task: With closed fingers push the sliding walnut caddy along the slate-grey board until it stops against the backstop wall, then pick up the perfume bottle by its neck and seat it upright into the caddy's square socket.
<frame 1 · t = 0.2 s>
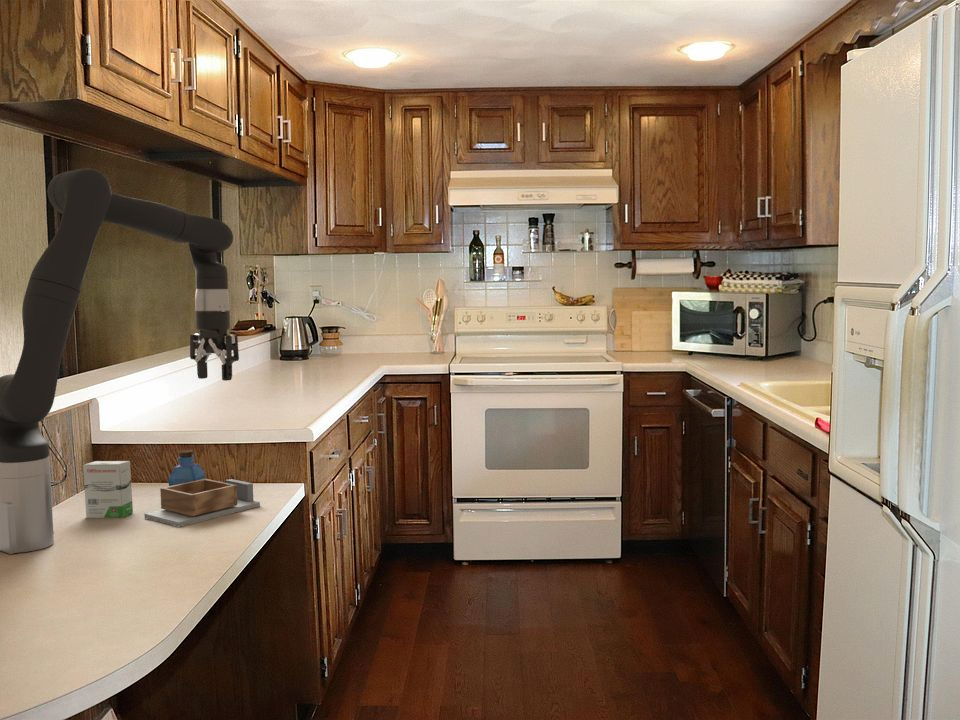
hand: (214, 379, 200), 28 cm above the worktop, fingers open, 8 cm apart
perfume bottle: (187, 503, 201), on the worktop
ink box: (109, 516, 190), on the worktop
backstop board: (203, 512, 192), on the worktop
caddy: (199, 496, 191), point 4 cm above the worktop, slide at 0.0 cm
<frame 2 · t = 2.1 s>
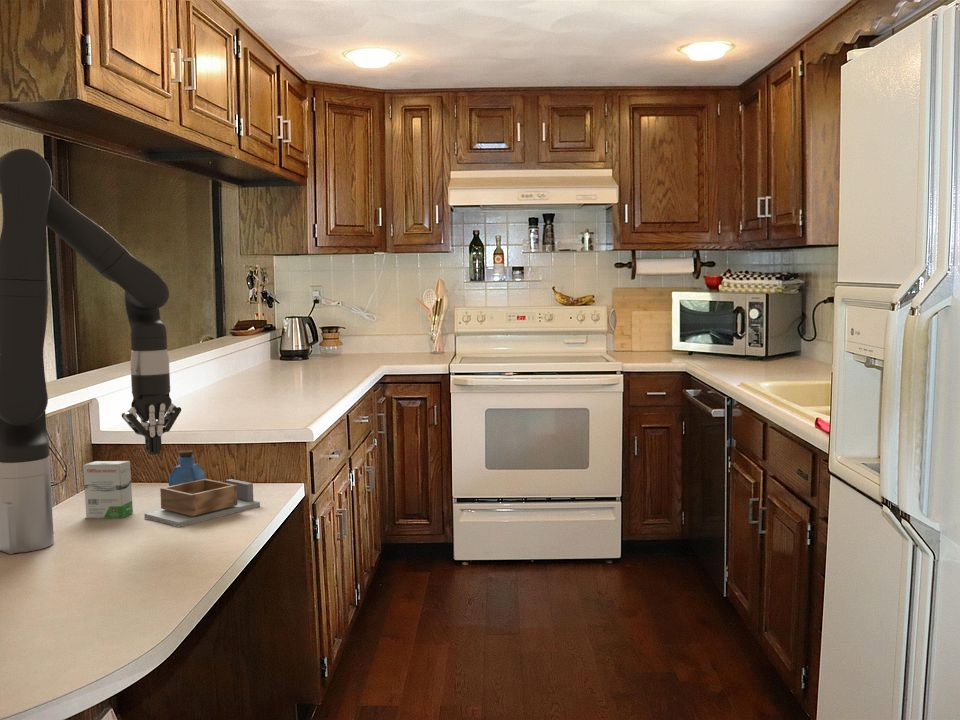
hand: (154, 453, 182), 15 cm above the worktop, fingers closed
nothing on the worktop moved.
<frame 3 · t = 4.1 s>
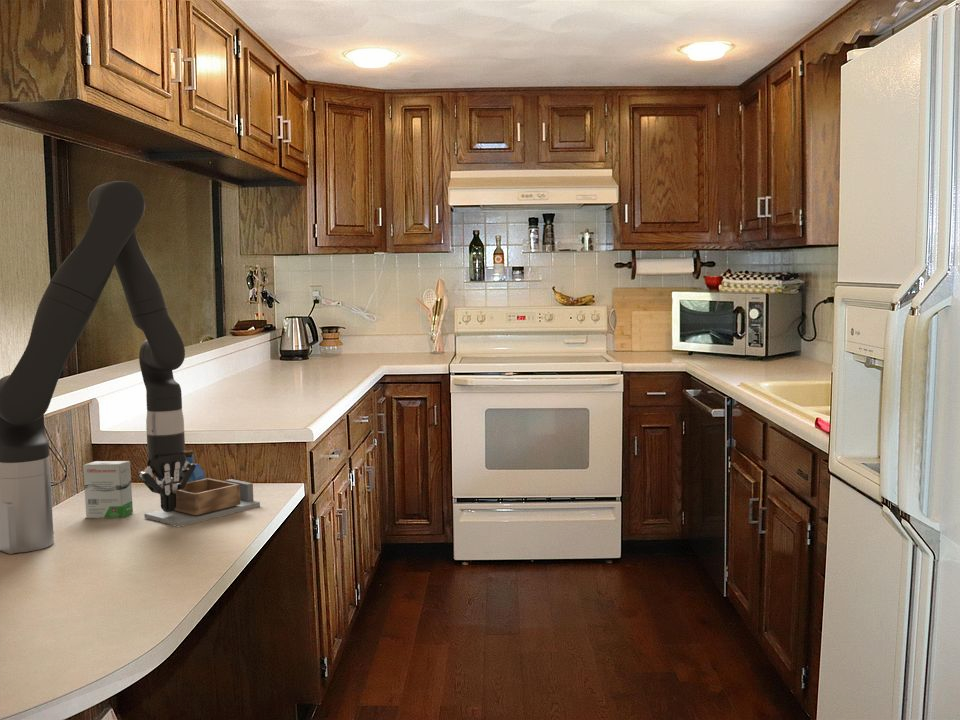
hand: (169, 511, 185), 2 cm above the worktop, fingers closed
caddy: (202, 495, 191), point 4 cm above the worktop, slide at 0.8 cm, touching gripper
everything else where it was.
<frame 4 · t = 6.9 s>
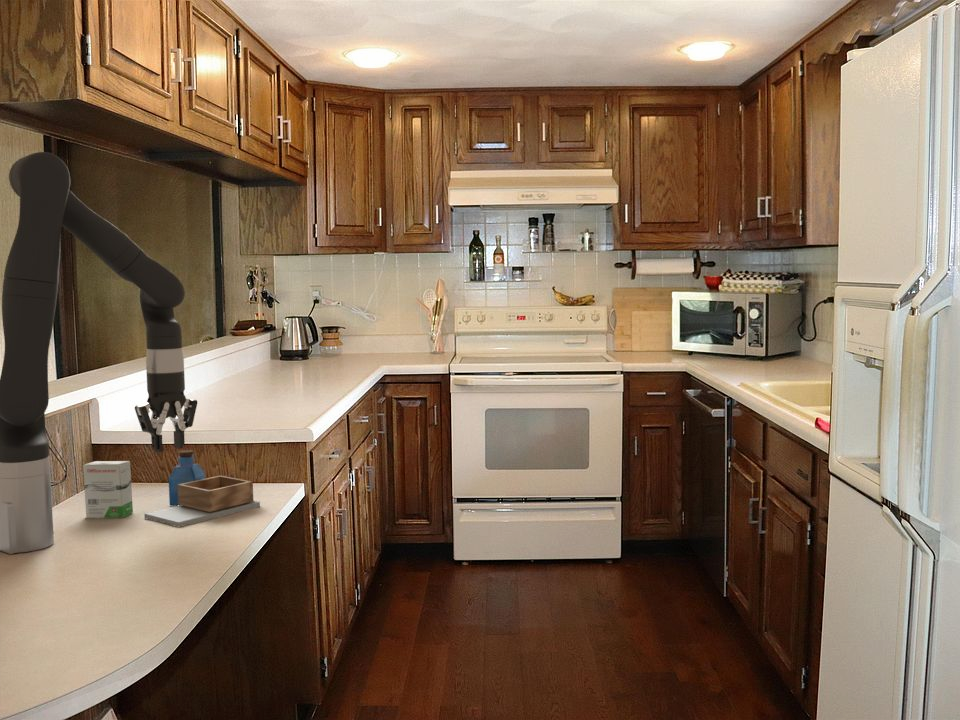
hand: (168, 449, 184), 15 cm above the worktop, fingers open, 4 cm apart
caddy: (215, 492, 194), point 4 cm above the worktop, slide at 4.2 cm
everything else where it was.
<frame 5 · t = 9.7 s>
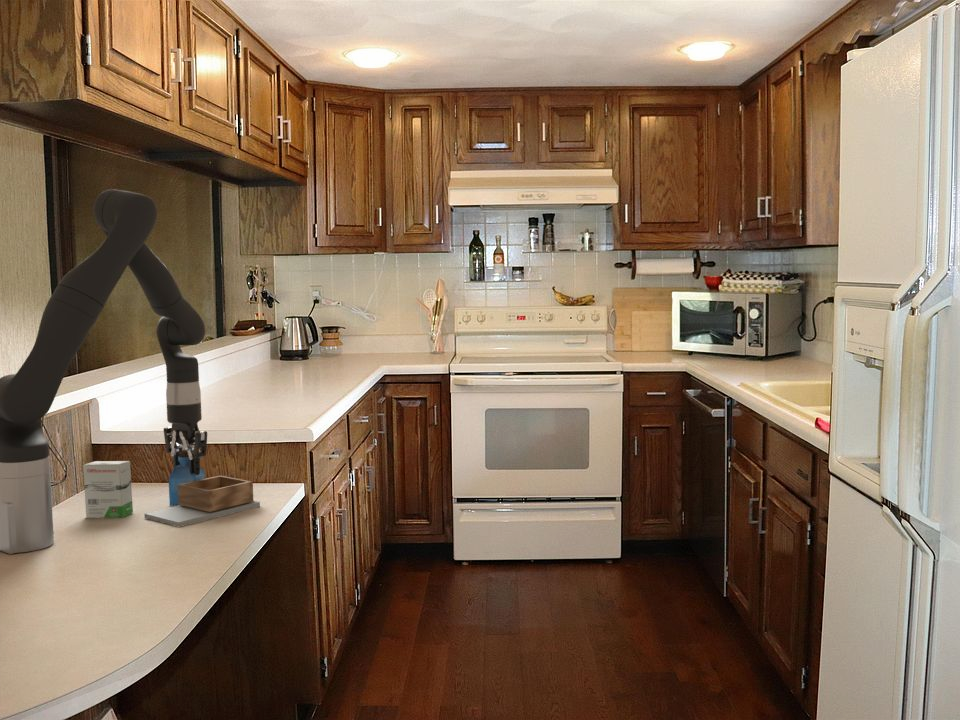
hand: (186, 473, 201), 7 cm above the worktop, fingers closed on perfume bottle, 5 cm apart
perfume bottle: (187, 502, 201), on the worktop, touching gripper
everything else where it was.
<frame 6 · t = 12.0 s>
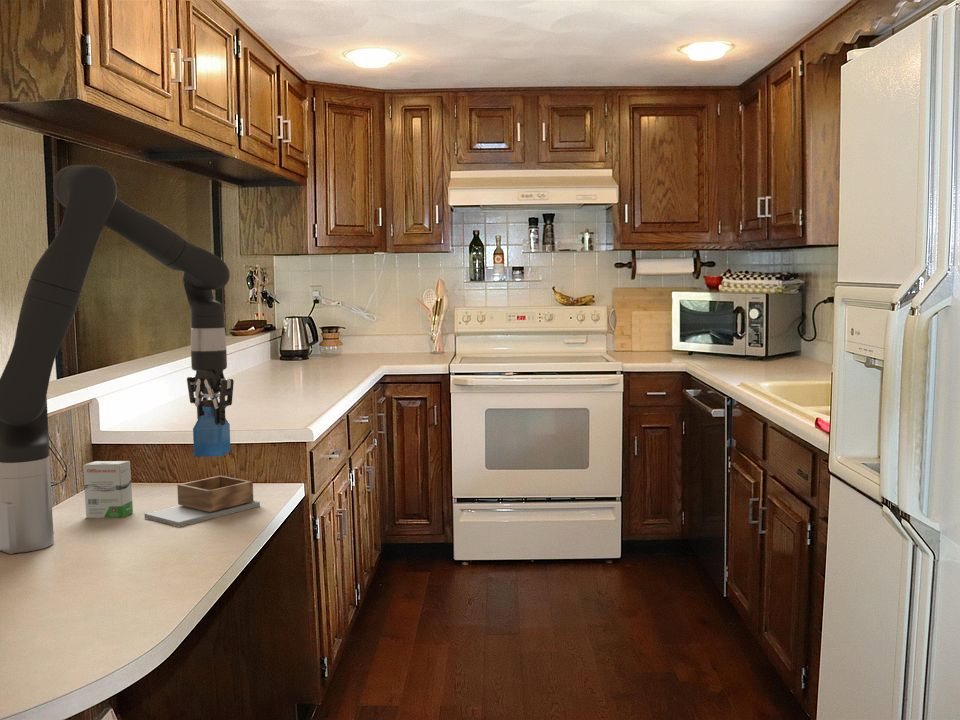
hand: (211, 423, 193), 19 cm above the worktop, fingers closed on perfume bottle, 5 cm apart
perfume bottle: (212, 454, 193), point 12 cm above the worktop, touching gripper
everything else where it was.
when the fingers open (10 cm above the worktop, at t = 14.2 s): perfume bottle stays where it is, resting on caddy.
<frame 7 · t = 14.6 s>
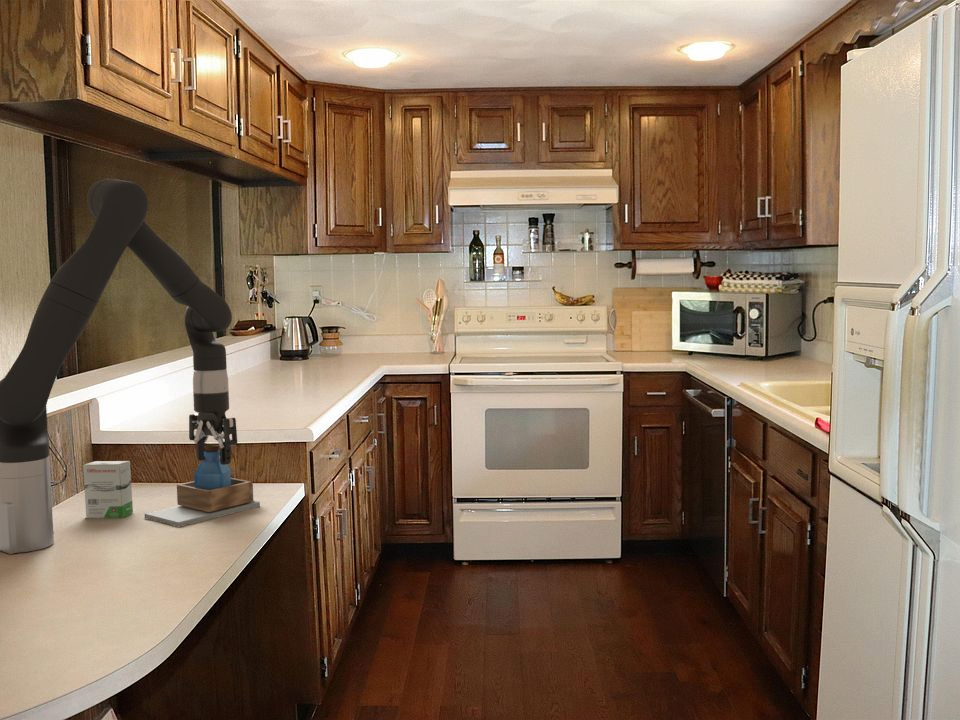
hand: (213, 462, 193), 11 cm above the worktop, fingers open, 8 cm apart
perfume bottle: (213, 499, 194), point 2 cm above the worktop, touching caddy
caddy: (214, 493, 194), point 4 cm above the worktop, slide at 4.1 cm, touching perfume bottle
everything else where it was.
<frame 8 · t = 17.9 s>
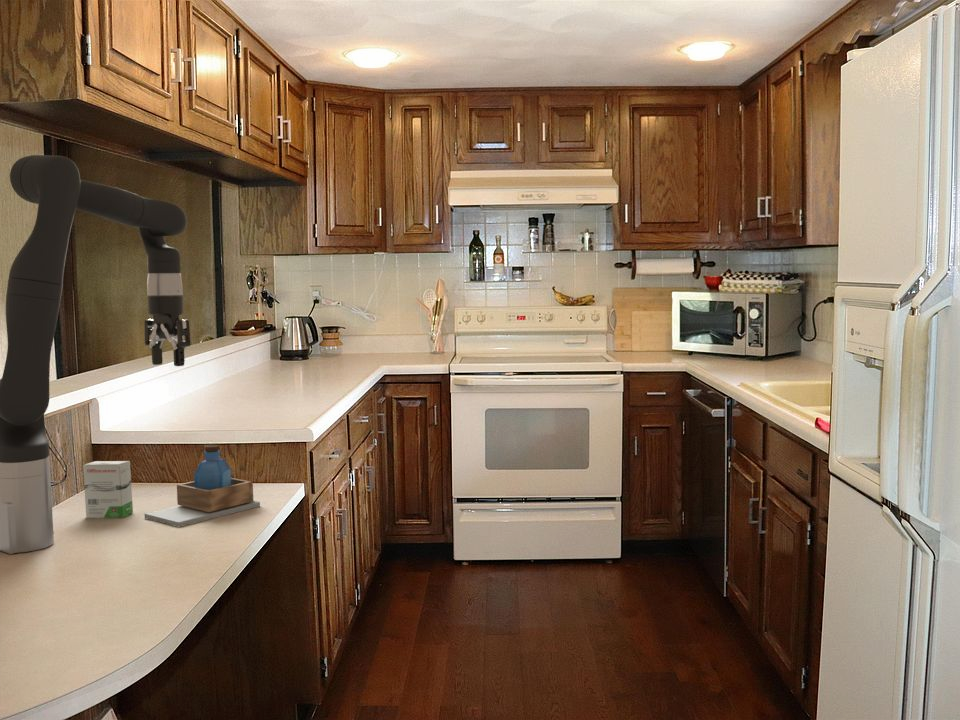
hand: (168, 365, 197), 32 cm above the worktop, fingers open, 8 cm apart
nothing on the worktop moved.
at the end: caddy slide at 4.1 cm; perfume bottle 0.3 cm off-centre on the caddy, point 2.2 cm above the caddy's base; perfume bottle tilted 0° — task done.
